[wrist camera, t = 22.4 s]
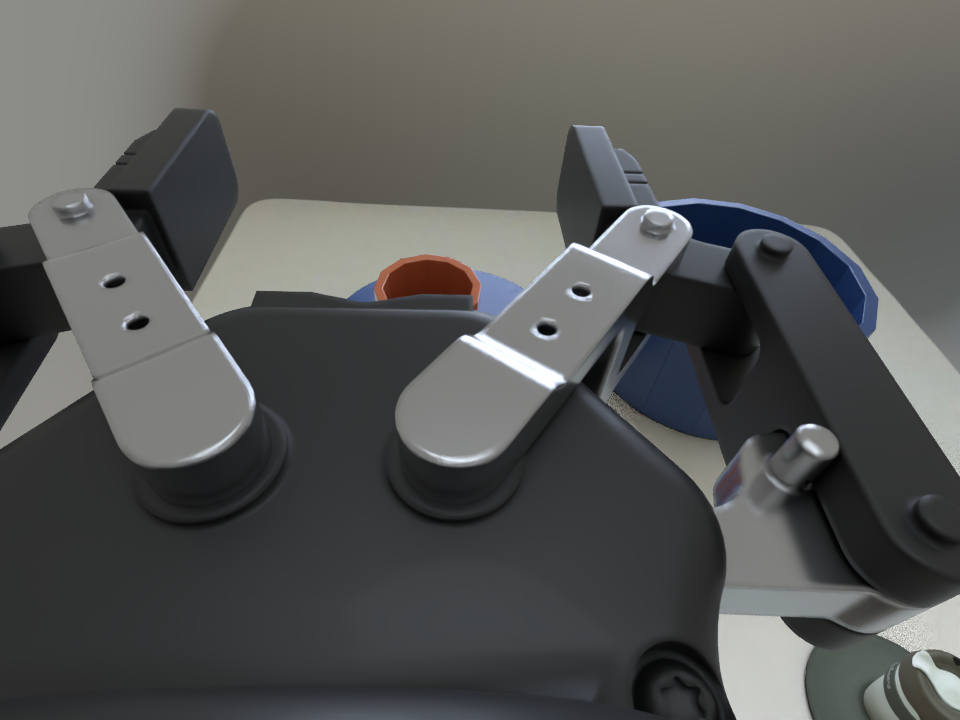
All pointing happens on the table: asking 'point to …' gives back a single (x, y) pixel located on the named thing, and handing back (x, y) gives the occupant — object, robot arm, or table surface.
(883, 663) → the coffee cup
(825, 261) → the pot
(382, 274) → the cup
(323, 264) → the table surface
